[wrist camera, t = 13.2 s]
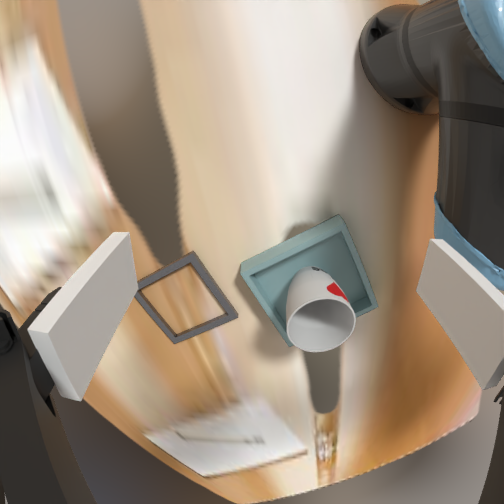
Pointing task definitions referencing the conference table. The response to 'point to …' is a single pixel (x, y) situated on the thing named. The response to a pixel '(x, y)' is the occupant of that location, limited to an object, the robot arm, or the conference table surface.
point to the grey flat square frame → (209, 282)
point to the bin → (302, 255)
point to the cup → (317, 311)
